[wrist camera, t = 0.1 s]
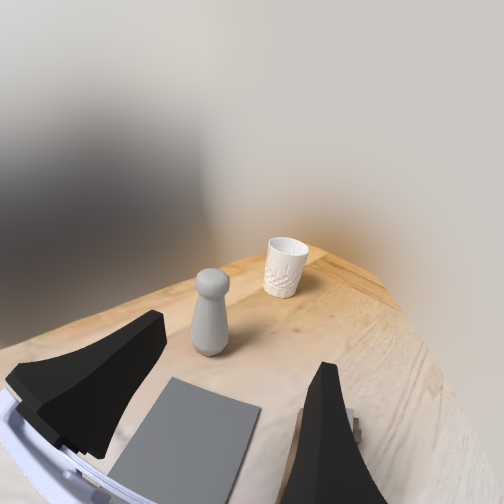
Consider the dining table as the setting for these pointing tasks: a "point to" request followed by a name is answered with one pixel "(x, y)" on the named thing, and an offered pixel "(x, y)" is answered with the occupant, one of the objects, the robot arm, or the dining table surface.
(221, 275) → the salt shaker
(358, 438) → the rack
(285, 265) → the white cup
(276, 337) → the dining table surface
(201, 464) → the mat
